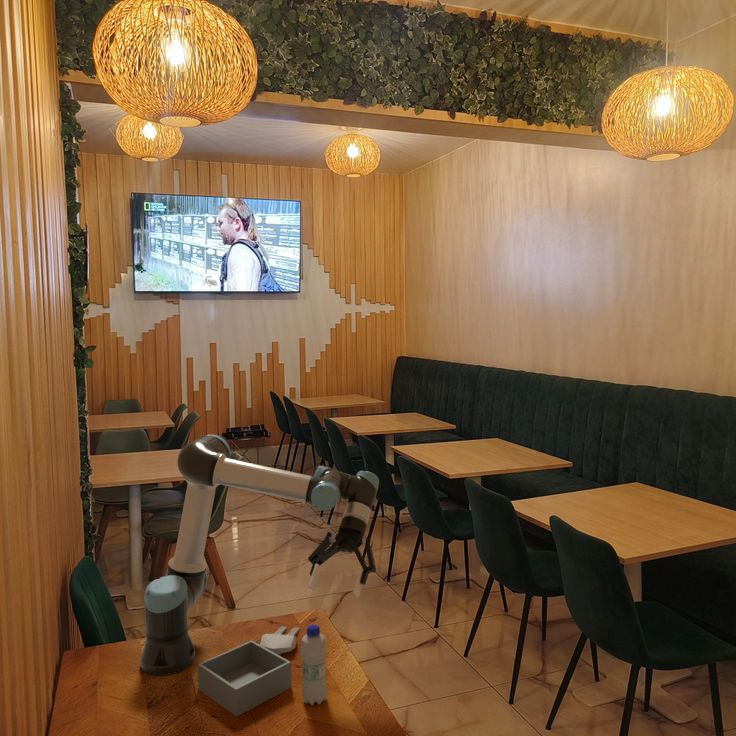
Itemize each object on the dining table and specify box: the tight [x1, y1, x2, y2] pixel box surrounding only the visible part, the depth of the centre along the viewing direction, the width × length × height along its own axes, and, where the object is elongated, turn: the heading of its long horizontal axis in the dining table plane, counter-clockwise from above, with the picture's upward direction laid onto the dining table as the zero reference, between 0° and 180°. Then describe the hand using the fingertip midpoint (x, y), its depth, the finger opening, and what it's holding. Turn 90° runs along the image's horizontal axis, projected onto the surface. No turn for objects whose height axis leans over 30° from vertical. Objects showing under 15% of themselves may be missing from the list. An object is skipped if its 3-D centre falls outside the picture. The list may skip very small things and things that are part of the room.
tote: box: [197, 639, 292, 717], centre depth 171 cm, size 18×18×7 cm
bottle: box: [300, 624, 328, 706], centre depth 164 cm, size 7×7×20 cm
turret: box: [259, 626, 301, 656], centre depth 195 cm, size 10×20×5 cm, turn 171°
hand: (333, 591), depth 173 cm, fingers open, 13 cm apart
